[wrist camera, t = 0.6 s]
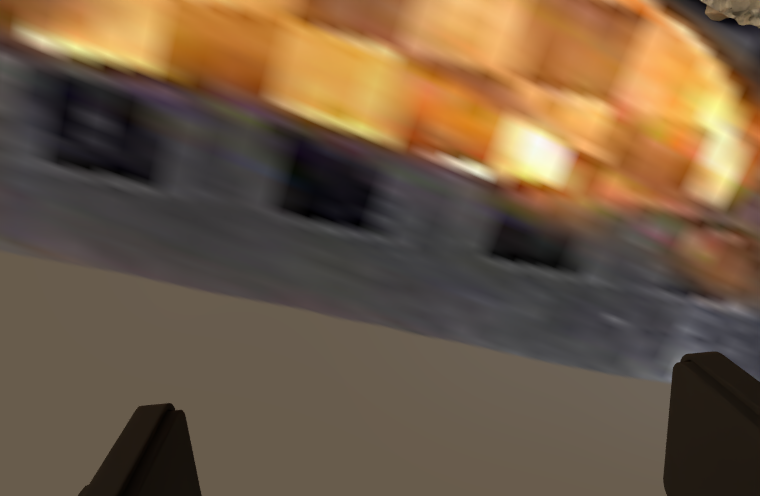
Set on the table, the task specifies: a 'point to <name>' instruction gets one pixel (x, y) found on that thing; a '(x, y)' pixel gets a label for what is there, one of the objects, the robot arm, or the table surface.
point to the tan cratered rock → (734, 10)
